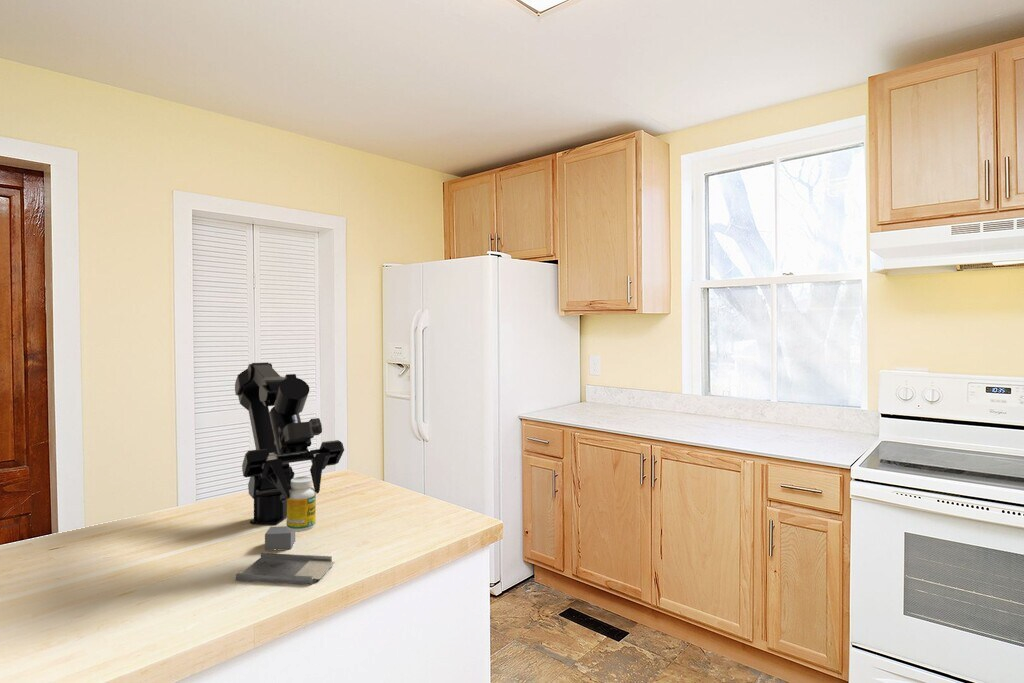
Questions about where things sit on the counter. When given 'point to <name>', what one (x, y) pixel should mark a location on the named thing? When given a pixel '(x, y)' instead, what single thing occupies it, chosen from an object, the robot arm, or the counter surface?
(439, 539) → the counter surface
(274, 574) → the grey flat tray
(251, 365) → the robot arm
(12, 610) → the counter surface
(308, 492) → the supplement bottle
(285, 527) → the block
